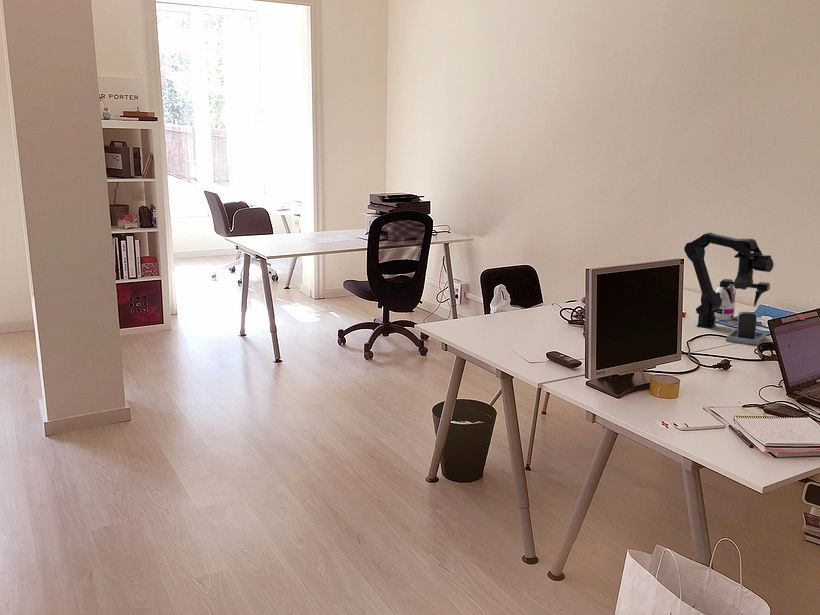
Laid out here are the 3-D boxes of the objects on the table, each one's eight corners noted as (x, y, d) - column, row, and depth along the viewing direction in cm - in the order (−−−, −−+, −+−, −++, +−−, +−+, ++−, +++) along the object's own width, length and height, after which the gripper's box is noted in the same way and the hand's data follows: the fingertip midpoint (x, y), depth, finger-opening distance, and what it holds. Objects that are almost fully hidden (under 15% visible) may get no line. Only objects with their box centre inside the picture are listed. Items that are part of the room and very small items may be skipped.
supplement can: (734, 317, 325) (737, 286, 321) (732, 321, 318) (734, 289, 315) (716, 315, 329) (718, 284, 326) (713, 319, 323) (715, 288, 319)
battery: (753, 337, 292) (756, 311, 289) (755, 340, 288) (757, 313, 285) (735, 336, 294) (737, 310, 291) (736, 339, 290) (738, 312, 287)
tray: (725, 341, 290) (726, 336, 290) (734, 334, 299) (734, 329, 299) (758, 345, 282) (758, 340, 282) (765, 338, 292) (765, 333, 291)
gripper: (717, 270, 292) (714, 306, 296) (765, 274, 281) (762, 311, 284) (724, 265, 300) (722, 300, 304) (771, 269, 289) (768, 305, 293)
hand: (743, 304), depth 296 cm, fingers open, 9 cm apart
